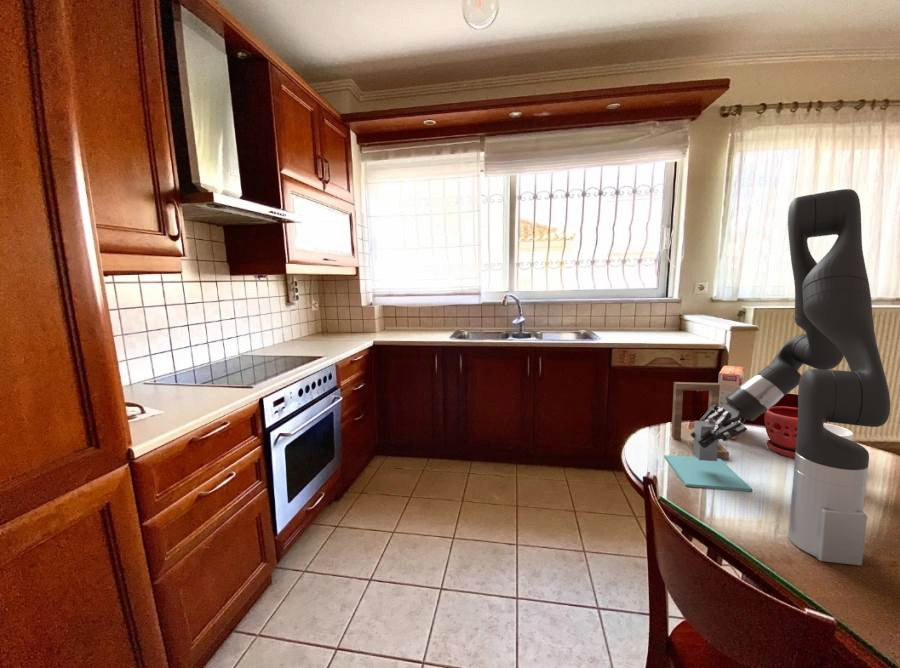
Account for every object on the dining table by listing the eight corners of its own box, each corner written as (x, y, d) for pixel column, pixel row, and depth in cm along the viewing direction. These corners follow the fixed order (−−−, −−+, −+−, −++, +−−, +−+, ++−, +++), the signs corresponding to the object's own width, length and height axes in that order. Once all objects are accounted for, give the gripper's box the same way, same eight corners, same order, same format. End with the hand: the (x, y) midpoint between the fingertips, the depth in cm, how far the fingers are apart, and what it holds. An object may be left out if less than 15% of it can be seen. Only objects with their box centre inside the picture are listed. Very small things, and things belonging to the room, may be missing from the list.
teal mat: (751, 491, 89) (752, 488, 89) (685, 486, 92) (685, 483, 92) (719, 460, 104) (719, 458, 104) (664, 457, 107) (664, 455, 107)
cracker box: (737, 440, 117) (741, 374, 114) (713, 436, 121) (717, 372, 118) (741, 427, 127) (745, 366, 124) (719, 423, 131) (722, 364, 128)
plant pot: (829, 453, 106) (833, 412, 105) (816, 467, 99) (820, 423, 98) (770, 439, 117) (773, 401, 116) (755, 450, 110) (758, 410, 108)
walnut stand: (737, 459, 104) (742, 396, 102) (689, 456, 107) (692, 395, 105) (713, 438, 119) (716, 383, 116) (671, 436, 121) (673, 382, 119)
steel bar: (717, 461, 95) (719, 427, 94) (699, 460, 96) (701, 426, 95) (710, 454, 99) (711, 421, 98) (693, 453, 100) (694, 420, 99)
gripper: (728, 379, 100) (675, 421, 105) (758, 395, 87) (697, 442, 91) (749, 399, 100) (696, 440, 104) (784, 418, 86) (721, 464, 90)
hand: (697, 441), depth 98 cm, fingers closed on steel bar, 4 cm apart
